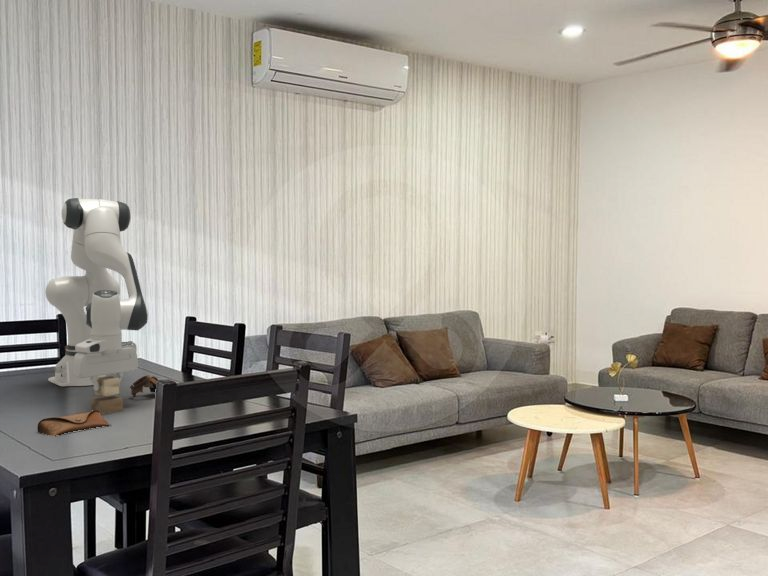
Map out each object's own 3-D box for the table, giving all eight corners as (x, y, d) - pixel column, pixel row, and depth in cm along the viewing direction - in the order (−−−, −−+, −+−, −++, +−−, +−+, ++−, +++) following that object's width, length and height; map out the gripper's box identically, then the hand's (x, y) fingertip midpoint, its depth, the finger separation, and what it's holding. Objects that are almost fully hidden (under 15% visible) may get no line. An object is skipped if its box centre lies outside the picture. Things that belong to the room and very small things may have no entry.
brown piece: (160, 401, 250) (146, 381, 248) (136, 413, 251) (122, 392, 249) (171, 385, 261) (158, 365, 259) (148, 396, 263) (135, 377, 261)
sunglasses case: (52, 437, 202) (45, 413, 203) (41, 446, 206) (35, 423, 207) (114, 425, 215) (107, 403, 217) (103, 434, 219) (96, 412, 221)
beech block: (95, 394, 233) (95, 377, 233) (109, 391, 237) (109, 375, 237) (104, 396, 230) (104, 379, 230) (119, 393, 234) (119, 377, 234)
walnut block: (91, 411, 234) (91, 398, 234) (113, 407, 239) (113, 395, 239) (100, 414, 229) (100, 401, 229) (123, 411, 234) (122, 398, 233)
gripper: (130, 339, 243) (130, 382, 244) (69, 346, 227) (70, 392, 227) (142, 341, 239) (142, 385, 240) (81, 348, 223) (82, 395, 224)
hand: (107, 388), depth 233 cm, fingers closed on beech block, 5 cm apart
